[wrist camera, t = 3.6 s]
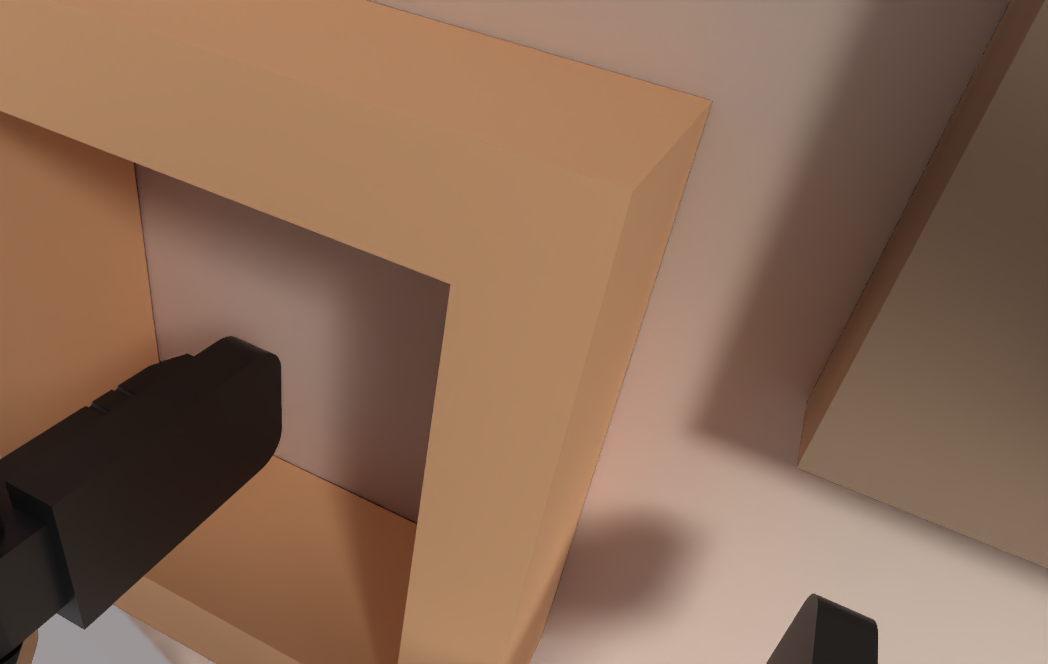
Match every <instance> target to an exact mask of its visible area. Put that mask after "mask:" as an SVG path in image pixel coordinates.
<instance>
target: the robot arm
mask: <svg viewBox="0 0 1048 664" xmlns="http://www.w3.org/2000/svg"><path fill="white" fill-rule="evenodd" d="M281 432H282V406H281V363H280V360H279V358H278V357H277V356H276V355H275V354H273V353H270V352H268V351H266V350H263V349H261V348H259V347H257V346H254V345H252V344H250V343H247V342H245V341H243V340H241V339H238V338H236V337H232V336H229V337H225V338H222V339H220V340H219V341H217V342H215V343H214V344H212V345H211V346H209V347H208V348H206V349H205V350H203V351H202V352H200V353H199V354H197V355H196V356H194V357H193V356H191V355H189V354H185V355H182V356H179V357H175V358H172V359H169V360H166V361H163V362H160V363H157V364H153V365H150V366H148V367H147V368H145V369H143V370H142V371H140V372H139V373H137V374H135V375H134V376H132V377H131V378H129V379H127V380H126V381H124V382H123V383H121V384H119V385H118V388H117V389H116V390H115V391H114V390H112V389H111V390H110V391H108V392H107V393H105V394H103V395H102V396H100V397H99V398H97V399H95V400H94V401H92V404H91V406H90V407H87V406H84V407H83V408H81V409H80V410H78V411H76V412H75V413H73V414H72V415H70V416H68V417H67V418H65V419H64V420H62V421H60V422H59V423H57V424H56V425H54V426H52V427H51V428H49V429H48V430H46V431H44V432H43V433H41V434H40V435H38V436H36V437H35V438H33V439H32V440H30V441H28V442H27V443H25V444H24V445H22V446H20V447H19V448H17V449H16V450H14V451H12V452H11V453H9V454H8V455H6V456H5V457H3V458H1V459H0V664H31V663H32V660H33V656H34V653H35V649H36V646H37V641H38V628H39V627H40V626H41V625H43V624H44V623H45V622H46V621H47V620H49V619H50V618H51V617H52V616H53V615H54V614H56V613H57V614H59V615H61V616H62V617H64V618H66V619H67V620H69V621H71V622H73V623H74V624H76V625H78V626H79V627H81V628H83V629H86V628H87V627H88V626H89V625H90V624H91V623H92V622H94V621H95V620H96V619H97V618H98V617H99V616H100V615H101V614H102V613H103V612H105V611H106V610H107V609H108V608H109V607H110V606H111V605H112V604H113V603H115V602H116V601H117V600H118V599H119V598H120V597H121V596H122V595H123V594H124V593H126V592H127V591H128V590H129V589H130V588H131V587H132V586H133V585H134V584H136V583H137V582H138V581H139V580H140V579H141V578H142V577H143V576H144V575H145V574H147V573H148V572H149V571H150V570H151V569H152V568H153V567H154V566H155V565H157V564H158V563H159V562H160V561H161V560H162V559H163V558H164V557H165V556H166V555H168V554H169V553H170V552H171V551H172V550H173V549H174V548H175V547H176V546H177V545H179V544H180V543H181V542H182V541H183V540H184V539H185V538H186V537H187V536H189V535H190V534H191V533H192V532H193V531H194V530H195V529H196V528H197V527H198V526H200V525H201V524H202V523H203V522H204V521H205V520H206V519H207V518H208V517H210V516H211V515H212V514H213V513H214V512H215V511H216V510H217V509H218V508H219V507H221V506H222V505H223V504H224V503H225V502H226V501H227V500H228V499H229V498H231V497H232V496H233V495H234V494H235V493H236V492H237V491H238V490H239V489H240V488H242V487H243V486H244V485H245V484H246V483H247V482H248V481H249V480H250V479H251V478H253V477H254V476H255V475H256V474H257V473H258V472H259V471H260V470H261V469H262V468H263V467H264V466H265V465H266V464H267V463H268V462H269V460H270V459H271V457H272V456H273V454H274V452H275V450H276V448H277V446H278V444H279V441H280V437H281ZM767 664H878V629H877V624H876V622H875V621H874V620H873V619H871V618H869V617H866V616H864V615H862V614H859V613H857V612H855V611H853V610H850V609H848V608H846V607H844V606H841V605H839V604H837V603H834V602H832V601H830V600H828V599H825V598H823V597H821V596H819V595H816V594H811V595H810V596H809V597H808V598H807V600H806V601H805V603H804V604H803V606H802V607H801V609H800V611H799V612H798V614H797V615H796V617H795V618H794V620H793V622H792V623H791V625H790V626H789V628H788V630H787V631H786V633H785V634H784V636H783V638H782V639H781V641H780V642H779V644H778V645H777V647H776V649H775V650H774V652H773V653H772V655H771V657H770V658H769V660H768V662H767Z"/></svg>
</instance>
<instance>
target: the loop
mask: <svg viewBox="0 0 1048 664" xmlns="http://www.w3.org/2000/svg"><path fill="white" fill-rule="evenodd" d="M711 104H712V101H711V100H707V99H704V98H700V97H697V96H693V95H690V94H687V93H683V92H680V91H676V90H673V89H669V88H666V87H662V86H659V85H656V84H652V83H649V82H645V81H642V80H638V79H635V78H632V77H628V76H625V75H621V74H618V73H614V72H611V71H607V70H604V69H601V68H597V67H594V66H590V65H587V64H583V63H580V62H576V61H573V60H570V59H566V58H563V57H559V56H556V55H552V54H549V53H546V52H542V51H539V50H535V49H532V48H528V47H525V46H521V45H518V44H515V43H511V42H508V41H504V40H501V39H497V38H494V37H491V36H487V35H484V34H480V33H477V32H473V31H470V30H466V29H463V28H460V27H456V26H453V25H449V24H446V23H442V22H439V21H435V20H432V19H429V18H425V17H422V16H418V15H415V14H411V13H408V12H405V11H401V10H398V9H394V8H391V7H387V6H384V5H380V4H377V3H374V2H370V1H367V0H0V459H1V458H3V457H5V456H6V455H8V454H9V453H11V452H12V451H14V450H16V449H17V448H19V447H20V446H22V445H24V444H25V443H27V442H28V441H30V440H32V439H33V438H35V437H36V436H38V435H40V434H41V433H43V432H44V431H46V430H48V429H49V428H51V427H52V426H54V425H56V424H57V423H59V422H60V421H62V420H64V419H65V418H67V417H68V416H70V415H72V414H73V413H75V412H76V411H78V410H80V409H81V408H83V407H84V406H87V407H90V406H91V404H92V401H94V400H95V399H97V398H99V397H100V396H102V395H103V394H105V393H107V392H108V391H110V390H111V389H112V390H114V391H115V390H116V389H117V388H118V385H119V384H121V383H123V382H124V381H126V380H127V379H129V378H131V377H132V376H134V375H135V374H137V373H139V372H140V371H142V370H143V369H145V368H147V367H148V366H150V365H153V364H157V363H159V358H158V350H157V342H156V335H155V327H154V319H153V311H152V303H151V295H150V288H149V280H148V272H147V264H146V256H145V248H144V240H143V233H142V225H141V217H140V209H139V201H138V193H137V186H136V178H135V170H134V163H137V164H140V165H142V166H145V167H147V168H150V169H153V170H155V171H158V172H160V173H163V174H166V175H168V176H171V177H173V178H176V179H179V180H181V181H184V182H186V183H189V184H192V185H194V186H197V187H199V188H202V189H205V190H207V191H210V192H212V193H215V194H217V195H220V196H223V197H225V198H228V199H230V200H233V201H236V202H238V203H241V204H243V205H246V206H249V207H251V208H254V209H256V210H259V211H262V212H264V213H267V214H269V215H272V216H275V217H277V218H280V219H282V220H285V221H288V222H290V223H293V224H295V225H298V226H301V227H303V228H306V229H308V230H311V231H314V232H316V233H319V234H321V235H324V236H326V237H329V238H332V239H334V240H337V241H339V242H342V243H345V244H347V245H350V246H352V247H355V248H358V249H360V250H363V251H365V252H368V253H371V254H373V255H376V256H378V257H381V258H384V259H386V260H389V261H391V262H394V263H397V264H399V265H402V266H404V267H407V268H410V269H412V270H415V271H417V272H420V273H423V274H425V275H428V276H430V277H433V278H435V279H438V280H441V281H443V282H446V283H448V284H451V285H450V292H449V299H448V306H447V313H446V320H445V328H444V335H443V342H442V349H441V356H440V364H439V371H438V378H437V385H436V392H435V400H434V407H433V414H432V421H431V428H430V436H429V443H428V450H427V457H426V464H425V472H424V479H423V486H422V493H421V500H420V508H419V515H418V522H417V524H415V523H413V522H411V521H409V520H407V519H404V518H402V517H400V516H398V515H396V514H394V513H392V512H390V511H388V510H386V509H384V508H382V507H379V506H377V505H375V504H373V503H371V502H369V501H367V500H365V499H363V498H361V497H359V496H356V495H354V494H352V493H350V492H348V491H346V490H344V489H342V488H340V487H338V486H336V485H333V484H331V483H329V482H327V481H325V480H323V479H321V478H319V477H317V476H315V475H313V474H310V473H308V472H306V471H304V470H302V469H300V468H298V467H296V466H294V465H292V464H290V463H288V462H285V461H283V460H281V459H279V458H277V457H275V456H272V457H271V459H270V460H269V462H268V463H267V464H266V465H265V466H264V467H263V468H262V469H261V470H260V471H259V472H258V473H257V474H256V475H255V476H254V477H253V478H251V479H250V480H249V481H248V482H247V483H246V484H245V485H244V486H243V487H242V488H240V489H239V490H238V491H237V492H236V493H235V494H234V495H233V496H232V497H231V498H229V499H228V500H227V501H226V502H225V503H224V504H223V505H222V506H221V507H219V508H218V509H217V510H216V511H215V512H214V513H213V514H212V515H211V516H210V517H208V518H207V519H206V520H205V521H204V522H203V523H202V524H201V525H200V526H198V527H197V528H196V529H195V530H194V531H193V532H192V533H191V534H190V535H189V536H187V537H186V538H185V539H184V540H183V541H182V542H181V543H180V544H179V545H177V546H176V547H175V548H174V549H173V550H172V551H171V552H170V553H169V554H168V555H166V556H165V557H164V558H163V559H162V560H161V561H160V562H159V563H158V564H157V565H155V566H154V567H153V568H152V569H151V570H150V571H149V572H148V573H147V574H145V575H144V576H143V577H142V578H141V579H140V580H139V581H138V582H137V583H136V584H134V585H133V586H132V587H131V588H130V589H129V590H128V591H127V592H126V593H124V594H123V595H122V596H121V597H120V598H119V599H118V600H117V601H116V602H115V603H113V605H115V606H117V607H118V608H120V609H122V610H124V611H125V612H127V613H129V614H131V615H132V616H134V617H136V618H138V619H139V620H141V621H143V622H145V623H146V624H148V625H150V626H152V627H153V628H155V629H157V630H159V631H160V632H162V633H164V634H166V635H167V636H169V637H171V638H173V639H174V640H176V641H178V642H180V643H181V644H183V645H185V646H187V647H188V648H190V649H192V650H193V651H195V652H197V653H199V654H200V655H202V656H204V657H206V658H207V659H209V660H211V661H213V662H214V663H216V664H529V662H530V660H531V658H532V656H533V654H534V652H535V650H536V648H537V645H538V643H539V641H540V639H541V637H542V634H543V631H544V627H545V624H546V621H547V618H548V615H549V612H550V609H551V605H552V602H553V599H554V596H555V593H556V590H557V587H558V584H559V580H560V577H561V574H562V571H563V568H564V565H565V562H566V558H567V555H568V552H569V549H570V546H571V543H572V540H573V536H574V533H575V530H576V527H577V524H578V521H579V518H580V515H581V511H582V508H583V505H584V502H585V499H586V496H587V493H588V489H589V486H590V483H591V480H592V477H593V474H594V471H595V467H596V464H597V461H598V458H599V455H600V452H601V449H602V446H603V442H604V439H605V436H606V433H607V430H608V427H609V424H610V420H611V417H612V414H613V411H614V408H615V405H616V402H617V398H618V395H619V392H620V389H621V386H622V383H623V380H624V376H625V373H626V370H627V367H628V364H629V361H630V358H631V355H632V351H633V348H634V345H635V342H636V339H637V336H638V333H639V329H640V326H641V323H642V320H643V317H644V314H645V311H646V307H647V304H648V301H649V298H650V295H651V292H652V289H653V286H654V282H655V279H656V276H657V273H658V270H659V267H660V264H661V260H662V257H663V254H664V251H665V248H666V245H667V242H668V238H669V235H670V232H671V229H672V226H673V223H674V220H675V217H676V213H677V210H678V207H679V204H680V201H681V198H682V195H683V191H684V188H685V185H686V182H687V179H688V176H689V173H690V169H691V166H692V163H693V160H694V157H695V154H696V151H697V148H698V144H699V141H700V138H701V135H702V132H703V129H704V126H705V122H706V119H707V116H708V113H709V110H710V107H711Z"/></svg>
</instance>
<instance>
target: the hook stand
mask: <svg viewBox="0 0 1048 664" xmlns="http://www.w3.org/2000/svg"><path fill="white" fill-rule="evenodd" d="M797 468H798V469H801V470H803V471H806V472H808V473H811V474H813V475H816V476H818V477H820V478H823V479H825V480H828V481H830V482H833V483H835V484H838V485H840V486H843V487H845V488H848V489H850V490H853V491H855V492H858V493H860V494H863V495H865V496H868V497H870V498H873V499H875V500H878V501H880V502H883V503H885V504H888V505H890V506H893V507H895V508H898V509H900V510H903V511H905V512H908V513H910V514H913V515H915V516H918V517H920V518H923V519H925V520H928V521H930V522H933V523H935V524H938V525H940V526H942V527H945V528H947V529H950V530H952V531H955V532H957V533H960V534H962V535H965V536H967V537H970V538H972V539H975V540H977V541H980V542H982V543H985V544H987V545H990V546H992V547H995V548H997V549H1000V550H1002V551H1005V552H1007V553H1010V554H1012V555H1015V556H1017V557H1020V558H1022V559H1025V560H1027V561H1030V562H1032V563H1035V564H1037V565H1040V566H1042V567H1045V568H1047V569H1048V0H1011V1H1010V3H1009V5H1008V7H1007V9H1006V11H1005V13H1004V15H1003V17H1002V19H1001V21H1000V23H999V24H998V26H997V28H996V30H995V32H994V34H993V36H992V38H991V40H990V42H989V44H988V46H987V48H986V50H985V52H984V54H983V56H982V58H981V60H980V62H979V64H978V66H977V68H976V70H975V72H974V74H973V76H972V78H971V80H970V82H969V84H968V86H967V88H966V90H965V92H964V94H963V95H962V97H961V99H960V101H959V103H958V105H957V107H956V109H955V111H954V113H953V115H952V117H951V119H950V121H949V123H948V125H947V127H946V129H945V131H944V133H943V135H942V137H941V139H940V141H939V143H938V145H937V147H936V149H935V151H934V153H933V155H932V157H931V159H930V161H929V163H928V165H927V166H926V168H925V170H924V172H923V174H922V176H921V178H920V180H919V182H918V184H917V186H916V188H915V190H914V192H913V194H912V196H911V198H910V200H909V202H908V204H907V206H906V208H905V210H904V212H903V214H902V216H901V218H900V220H899V222H898V224H897V226H896V228H895V230H894V232H893V234H892V236H891V237H890V239H889V241H888V243H887V245H886V247H885V249H884V251H883V253H882V255H881V257H880V259H879V261H878V263H877V265H876V267H875V269H874V271H873V273H872V275H871V277H870V279H869V281H868V283H867V285H866V287H865V289H864V291H863V293H862V295H861V297H860V299H859V301H858V303H857V305H856V307H855V308H854V310H853V312H852V314H851V316H850V318H849V320H848V322H847V324H846V326H845V328H844V330H843V332H842V334H841V336H840V338H839V340H838V342H837V344H836V346H835V348H834V350H833V352H832V354H831V356H830V358H829V360H828V362H827V364H826V366H825V368H824V370H823V372H822V374H821V376H820V378H819V379H818V381H817V383H816V385H815V387H814V389H813V391H812V393H811V395H810V397H809V399H808V401H807V406H806V412H805V418H804V425H803V431H802V437H801V444H800V450H799V456H798V462H797Z"/></svg>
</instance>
